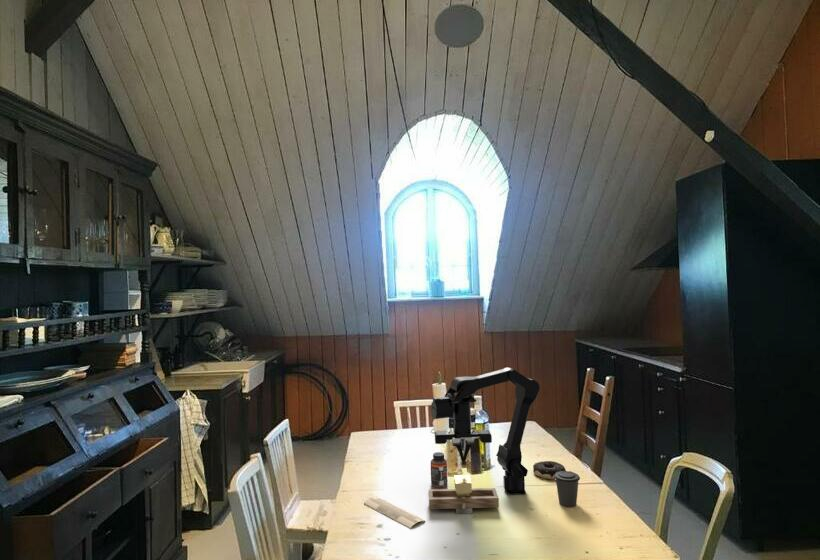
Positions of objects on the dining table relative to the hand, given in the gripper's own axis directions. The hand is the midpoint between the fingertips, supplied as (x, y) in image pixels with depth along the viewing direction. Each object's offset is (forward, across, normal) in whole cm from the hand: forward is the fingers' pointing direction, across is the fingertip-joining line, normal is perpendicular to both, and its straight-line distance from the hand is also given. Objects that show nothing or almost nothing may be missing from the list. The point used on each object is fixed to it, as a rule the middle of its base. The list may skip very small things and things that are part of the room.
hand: (463, 462), depth 170 cm
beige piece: (+14, +24, +9) cm, 29 cm away
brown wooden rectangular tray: (+12, +1, +6) cm, 14 cm away
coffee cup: (+13, -33, +5) cm, 36 cm away
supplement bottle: (+13, +8, -12) cm, 19 cm away
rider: (+9, +1, +6) cm, 11 cm away
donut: (+13, -33, -20) cm, 41 cm away
